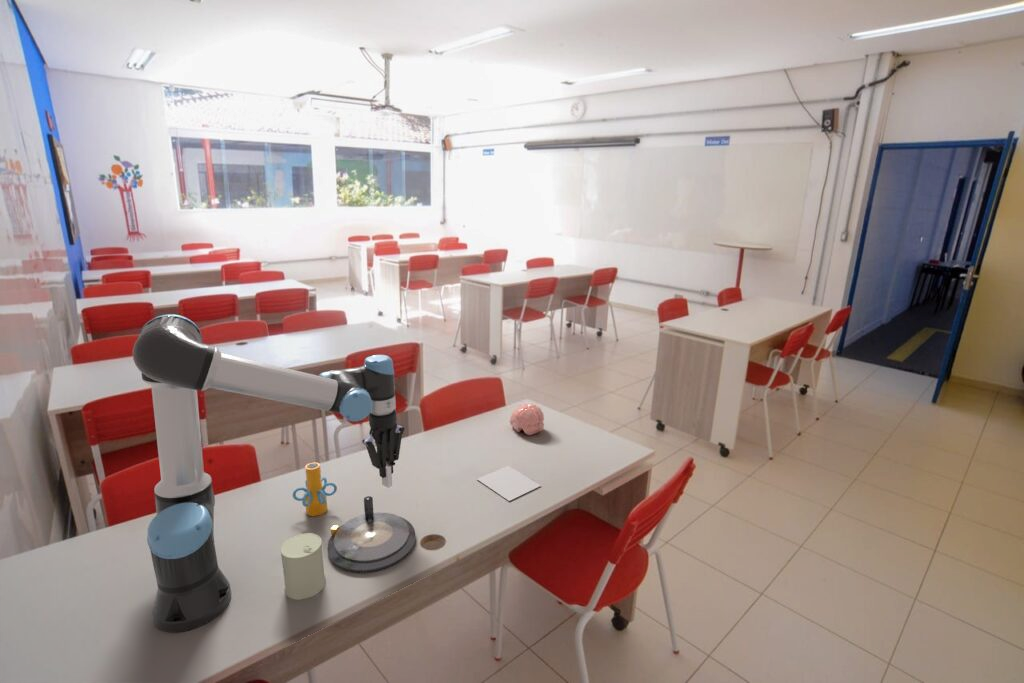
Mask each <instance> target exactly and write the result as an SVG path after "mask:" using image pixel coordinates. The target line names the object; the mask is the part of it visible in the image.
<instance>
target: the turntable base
mask: <svg viewBox="0 0 1024 683" xmlns="http://www.w3.org/2000/svg"><path fill="white" fill-rule="evenodd" d="M400 517H401V518H402V519H403V520H404V521H405V522H406V523H407V525H408V527H409V538H408V541H407V543H406V545H405V546H404V547H403V548H402V549H401V550H400V551H399V552H398V553H396V554H395V555H393V556H391V557H389V558H387V559H384V560H381V561H378V562H373V563H354V562H350V561H347V560H345V559H343V558H341V557H340V556H339V555H338V554H337V553H336V551H335V547H334V537H335V534H336V532H337V531H338V529H339V528H340V527H341V526H342V525H344V524H345V523H343V524H342V525H340V526H339V525H333V526H332V527H331V528H330V535H331V536H330V537H329V540H328V543H327V554H328V559H329V561H330V562H331V563H332V564H333V565H334V566H335V567H337V568H338V569H339V570H342V571H344V572H346V573H347V572H348V573H354V574H371V573H378V572H381V571H384V570H387V569H390V568H393V567H394V566H396V565H398V564H400V563H401V562H402V561H404V560H406V558H407V557H408V556H409V555H410V554H411V552H413V550H414V547H415V545H416V531H415V528H414V526H413V525H412V523H411V522H410V521H408V520H407V519H406V518H404V517H402V516H400Z"/></svg>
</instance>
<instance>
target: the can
mask: <svg viewBox="0 0 1024 683" xmlns="http://www.w3.org/2000/svg"><path fill="white" fill-rule="evenodd" d="M322 542H323V540H322V538H321V537H320V535H318V534H316V533H312V532H305V533H300V534H296V535H293V536H291V537H290V538H287V539H286V540H285V541H284V542H283V543H282V544H281V546H280V551H279V552H280V556H281V561H282V562H281V564H282V569H283V571H282V572H283V578H284V579H283V580H284V593H285V595H286V596H287V597H288V598H290V599H291V600H299V601H300V600H306V599H310V598H312V597H314V596H315V595H317V594H319V593H320V592H322V590H323V589H324V587H325V586H326V580H327V579H326V577H325V576H326V575H325V569H324V568H325V567H324V560H323V559H324V558H323V557H324V556H323V546H322Z"/></svg>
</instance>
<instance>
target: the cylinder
mask: <svg viewBox="0 0 1024 683" xmlns="http://www.w3.org/2000/svg"><path fill="white" fill-rule="evenodd" d="M304 470H305V477H306V480H305V487H301V486H300V487H298V488H296V489H295V490H294V491H293V492H292V498H293V499H294V500H296V501H299V502H300V501H302V502H301V503H302V506H303V507H305V512H306V515H308V516H309V517H317V516H321V515H323V514H325V513H326V512H327V511H328V499H327V496H328V497H331V496H333V495H334V494H336V492H337V491H338V488H337V487H338V486H337V485H336V483H333V482H328V481H327V480H328V479H327V478H326V477H324V476H323V477H322V472H321V464H320V463H319V462H309V463H307V464H306V465H305V469H304ZM323 483H324V484H323ZM328 486H332V487H333V491H331V492H327V491H326V488H327V487H328ZM299 491H303V492H304V494H303V496H302V497H298V496H297V495H296V494H297V493H298V492H299Z"/></svg>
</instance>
